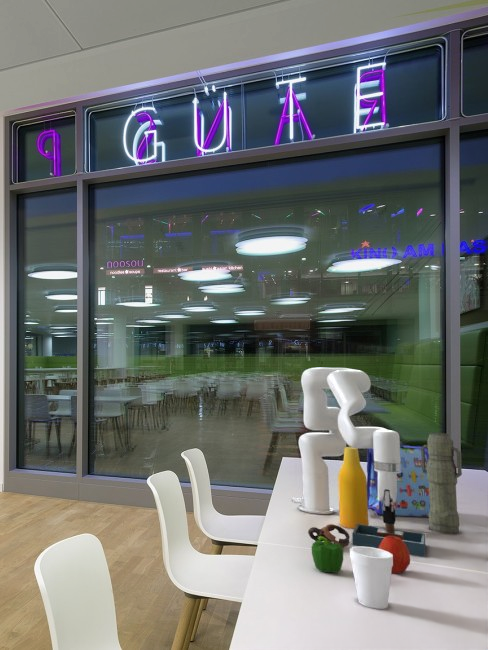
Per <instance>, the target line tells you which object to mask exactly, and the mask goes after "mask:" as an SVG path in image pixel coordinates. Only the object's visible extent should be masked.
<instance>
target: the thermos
mask: <svg viewBox="0 0 488 650" xmlns="http://www.w3.org/2000/svg"><path fill="white" fill-rule="evenodd" d="M426 441H427V444H424V445H422V446H421V447H422V448H421V454H422V470H423V473H426V474H427V480H428V482H429V495H430V510H429V517H428V522H429V530H430V531H433V532H437V533H441V534H448V535H458V534H460V526H461V523H460V515H459V512H458V502H457V484H458V478H460V477H461V476H462V475H463V472H462V451H461V450H460V449H459V448H458V447H455V446H454V441H453V439H452V436H451V434H448V433H445V432H444V433H443V432H432V433H429V435H428V438H427V440H426ZM425 448H426V449H427V450H428V454H429V458H428V463H427V470H426V471H425ZM455 453H456V464H455V459H454V456H455Z"/></svg>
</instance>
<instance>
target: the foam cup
mask: <svg viewBox="0 0 488 650" xmlns="http://www.w3.org/2000/svg"><path fill="white" fill-rule="evenodd" d="M349 557H350V558H349V559H350V560H351V566H352V572H353V577H354V581H355V582H354V583H355V588H356V595H357V600H358V603H359V604H361V605H363V606H365V607H367V608H371V609H378V610H383V609H384V610H385V609H388V606H389V597H390V587H391V578H392V573H391V570H392V566H393V554H391V553H390V552H388V551H385V550H382V549H377V548H373V547H364V546H352V547H350V548H349Z"/></svg>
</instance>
